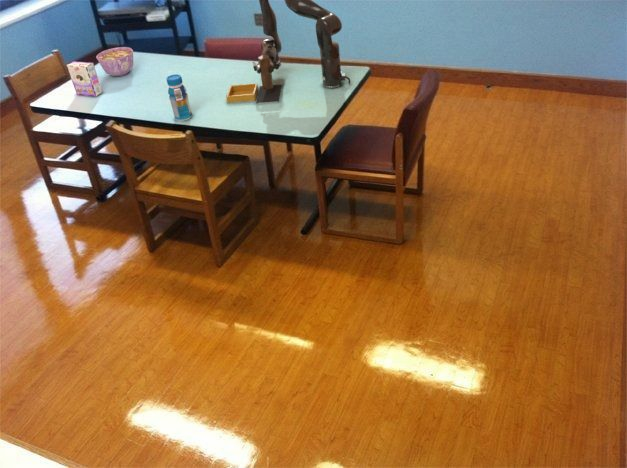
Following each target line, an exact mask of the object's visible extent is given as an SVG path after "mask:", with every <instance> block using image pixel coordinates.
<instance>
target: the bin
mask: <svg viewBox="0 0 627 468" xmlns="http://www.w3.org/2000/svg"><path fill="white" fill-rule="evenodd" d="M258 93H259V85H258V83H257V82H255V83H243V84H231V85H230V86H229V88H228V91H227V94H226V102H227V103H238V102H239V103H241V102H252V101H253V102H254V101H256V100H257V97H258Z"/></svg>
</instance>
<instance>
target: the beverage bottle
mask: <svg viewBox="0 0 627 468" xmlns="http://www.w3.org/2000/svg"><path fill="white" fill-rule="evenodd" d="M182 77H183V76H182V75H181V74H178V73H177V74H170V75H168V76H167V77H166V83H167V85H168V90H167V93H168V98H169V101H170V106H171V109H172V113H173V117H174V119H175V121H178V122H184V121H187V120H190V119H191V118H192V117H193V113H192V108H191V105H190V101H189V95H188V93H187V88H186V86H185V85H184V84H183V78H182Z"/></svg>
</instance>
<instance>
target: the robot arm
mask: <svg viewBox="0 0 627 468" xmlns="http://www.w3.org/2000/svg"><path fill="white" fill-rule="evenodd" d="M258 2H259V3H258V4H259V6H260V11H261V17H262V31H263V34H264V35H265V36H269V37H271V38H266V39H263V40H262V41H261V43H260V48H261V54H260V56H262V55H268V56H269V59H270V73H271V74H273V72H274V70H279V69H280V67H281V66H282V63H281V62H282V61H281V59H278V60H277V54H279V53H281V51H282V49H283V48H282V47H283V46H282V42H281V39H280V37H279V32H278V23H277V16H276V13H275V11H274V10H273V8H272V6H271V4H270V0H258ZM284 3H285V5H286V7H287V8H288V9H289V10H290V11H292V12H293V13H294V14H296V15H297V16H299V17H303V18H307V19H310V20H314V21H316V22H315V34H316V42H317V46H318V48H319V55H320V65H321V66H320V67H321V80H322V86H323V88H325V89H326V88H327V89H335V88H339V87H343V82H344V81H345V82H346V79H347V80H348V84H351V79H350V77H348V76H347V75H346V73H345V72H342V66H341V54H340V53H341V52H340V44H339V43H338V42H337V41H333V38H332V36H335V35H337V34H339V33H340V32H341V31H342V28H343V24H342V23H343V22H342V21H341V19H340V17H338V15H336V14H335V13H334V12H331V11H330V10H328V9H326V8H325V7H322V6H321V5H319V4H318V3H316V2H315V1H313V0H284ZM252 66H253V71H254V72H256V73H257V74H258V75H261V73H260V67H259V61H258V62H256V61H252Z"/></svg>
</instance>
